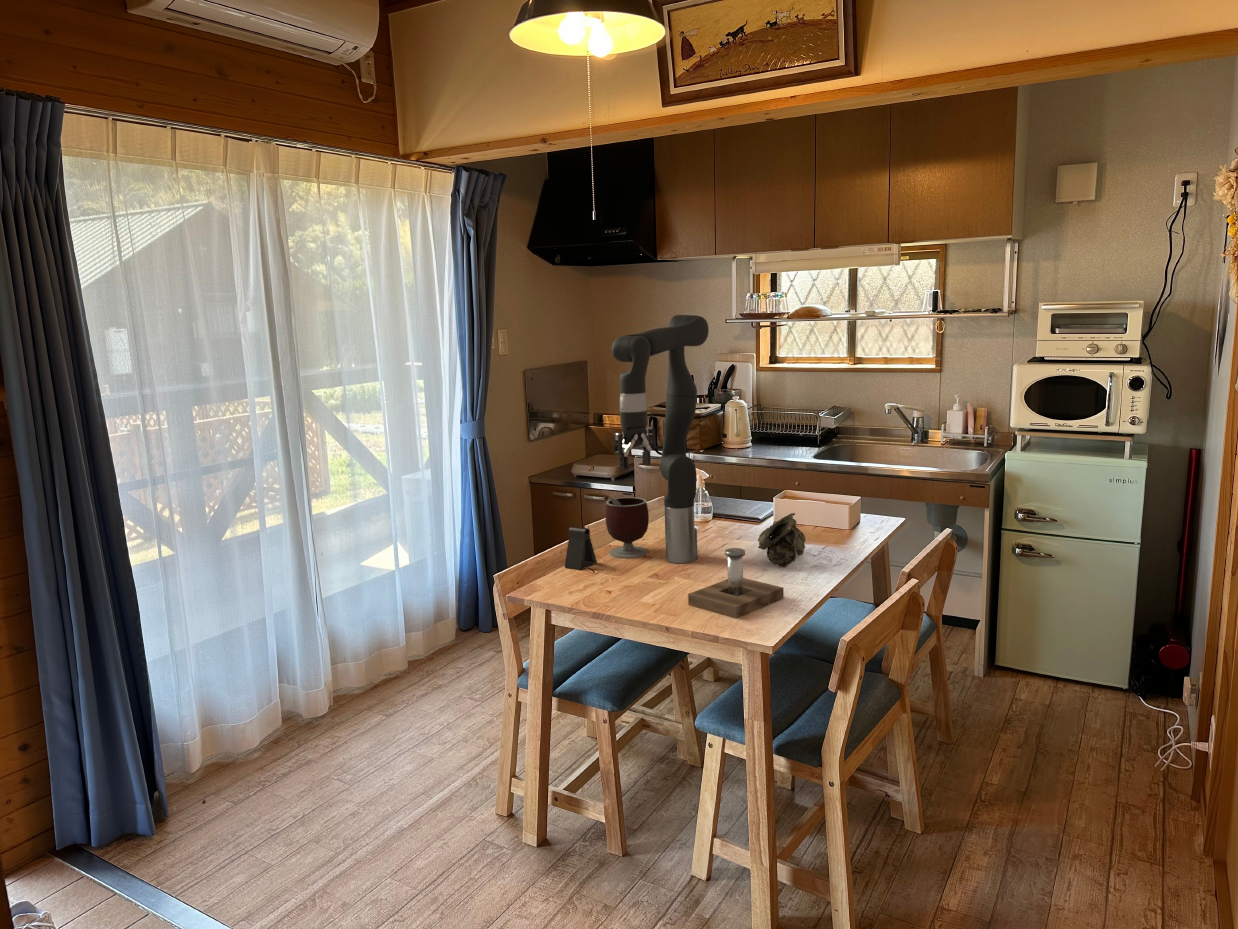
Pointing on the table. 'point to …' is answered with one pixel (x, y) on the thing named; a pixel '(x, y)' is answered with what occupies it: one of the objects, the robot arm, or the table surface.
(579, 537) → the phone stand
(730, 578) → the steel pin
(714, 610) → the socket plate
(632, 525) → the mate gourd
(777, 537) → the camouflage backpack
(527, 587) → the table surface
